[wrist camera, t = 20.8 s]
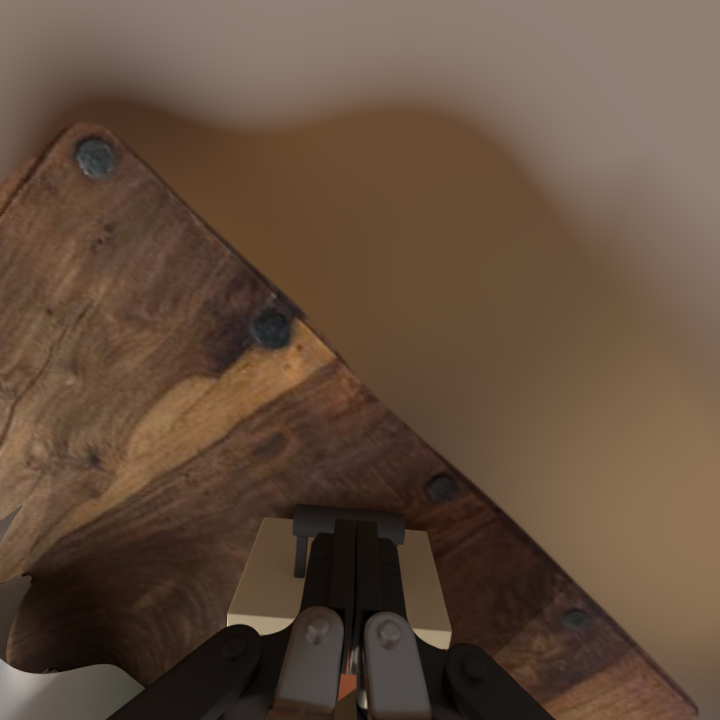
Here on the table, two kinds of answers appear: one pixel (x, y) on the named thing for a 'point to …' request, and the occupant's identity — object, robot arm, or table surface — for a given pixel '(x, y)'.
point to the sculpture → (54, 674)
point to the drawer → (289, 566)
